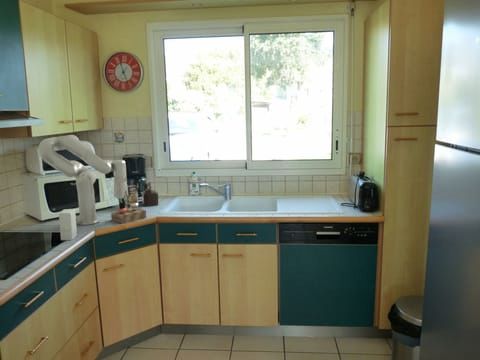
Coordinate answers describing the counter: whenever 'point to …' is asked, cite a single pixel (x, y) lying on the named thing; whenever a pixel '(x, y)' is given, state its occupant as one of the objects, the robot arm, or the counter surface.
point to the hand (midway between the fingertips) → (122, 208)
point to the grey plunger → (134, 206)
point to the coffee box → (131, 196)
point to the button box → (128, 215)
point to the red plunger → (122, 210)
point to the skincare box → (67, 224)
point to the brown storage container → (149, 196)
